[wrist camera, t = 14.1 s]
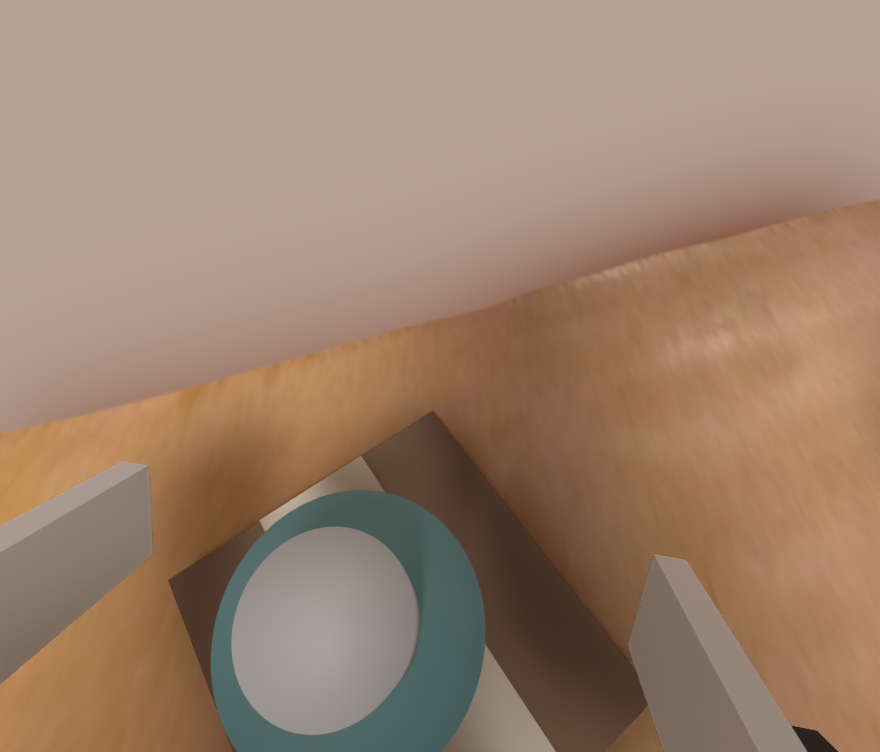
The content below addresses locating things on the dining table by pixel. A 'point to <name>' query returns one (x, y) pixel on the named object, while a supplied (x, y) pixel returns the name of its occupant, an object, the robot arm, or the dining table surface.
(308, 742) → the teal bottle with cap
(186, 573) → the brown cream striped panel
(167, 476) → the dining table surface
